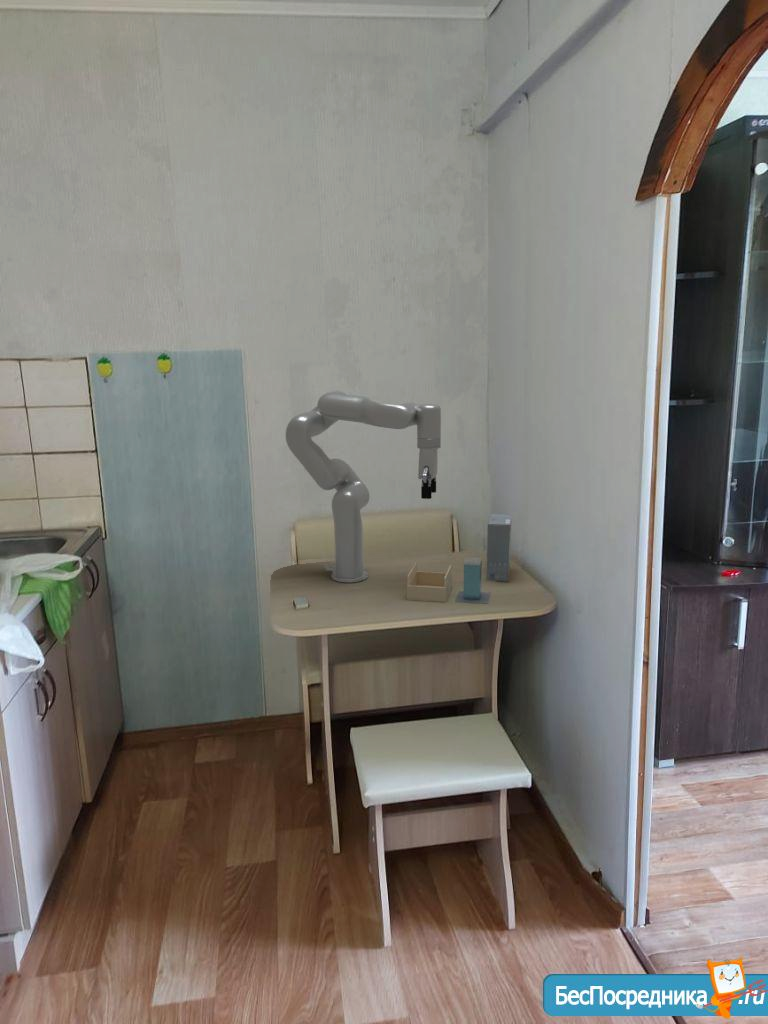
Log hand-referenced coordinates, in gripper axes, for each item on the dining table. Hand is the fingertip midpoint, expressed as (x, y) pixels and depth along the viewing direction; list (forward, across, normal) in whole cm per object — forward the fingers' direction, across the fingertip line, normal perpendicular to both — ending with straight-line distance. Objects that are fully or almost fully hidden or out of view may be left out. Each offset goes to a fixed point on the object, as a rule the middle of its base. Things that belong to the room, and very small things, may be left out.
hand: (428, 495), depth 245 cm
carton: (+30, +10, +2) cm, 32 cm away
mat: (+30, +12, +16) cm, 36 cm away
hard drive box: (+31, -14, +22) cm, 40 cm away
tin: (+30, +12, +16) cm, 36 cm away
